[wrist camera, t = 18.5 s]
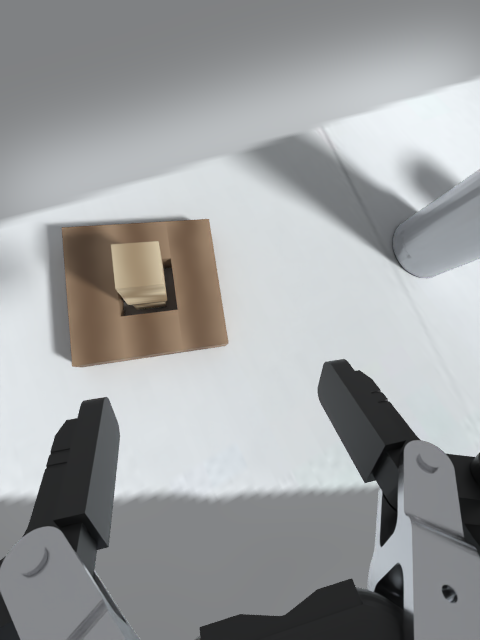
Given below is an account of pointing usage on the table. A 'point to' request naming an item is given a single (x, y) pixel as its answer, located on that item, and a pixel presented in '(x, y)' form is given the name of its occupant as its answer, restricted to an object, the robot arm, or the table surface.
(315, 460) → the table surface
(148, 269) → the oak peg
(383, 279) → the table surface
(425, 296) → the table surface
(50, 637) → the robot arm
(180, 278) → the walnut board
